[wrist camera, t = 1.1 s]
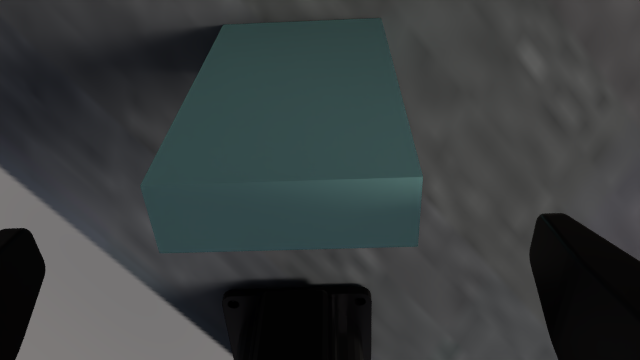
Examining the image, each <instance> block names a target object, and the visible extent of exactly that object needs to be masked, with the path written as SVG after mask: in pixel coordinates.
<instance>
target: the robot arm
mask: <svg viewBox="0 0 640 360" xmlns="http://www.w3.org/2000/svg"><path fill="white" fill-rule="evenodd" d="M529 256H530V264H531V268H532V272H533V275H534V279H535V283H536V287H537V291H538V294H539V298H540V302H541V306H542V309H543V313H544V317H545V321H546V324H547V328H548V332H549V335H550V338H551V341H552V344H553V347H554V350H555V352H556V355H557V357H558V360H640V261H639V260H637V259H635V258H634V257H632V256H631V255H629V254H628V253H626V252H624V251H623V250H621V249H620V248H618V247H617V246H615V245H613V244H612V243H610V242H609V241H607V240H606V239H604V238H602V237H601V236H599V235H598V234H596V233H595V232H593V231H591V230H590V229H588V228H587V227H585V226H584V225H582V224H580V223H579V222H577V221H576V220H574V219H573V218H571V217H569V216H568V215H566V214H563V213H549V214H541V215H540V216H539V217H538V218H537V221H536V225H535V229H534V233H533V238H532V242H531V247H530V253H529ZM44 276H45V263H44V260H43V257H42V255H41V253H40V251H39V249H38V246H37V244H36V242H35V240H34V238H33V235H32V233H31V232H30V231H29V230H27V229H25V228H17V229H15V228H12V229H3V230H0V360H15V359H16V357H17V354H18V352H19V349H20V347H21V344H22V341H23V339H24V336H25V333H26V330H27V327H28V324H29V321H30V318H31V315H32V312H33V309H34V306H35V303H36V300H37V297H38V294H39V291H40V288H41V285H42V282H43V279H44ZM357 298H362V299H357ZM232 300H234V301H237V302H234V301H232ZM371 304H372V301H371V293H370V291H369V290H368V289H367V288H365V287H323V288H280V289H237V290H229V291H227V292H225V294H224V296H223V301H222V306H223V311H224V316H225V320H226V325H227V330H228V334H229V339H230V344H231V348H232V353H233V358H234V360H371Z"/></svg>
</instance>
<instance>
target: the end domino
mask: <svg viewBox="0 0 640 360" xmlns="http://www.w3.org/2000/svg"><path fill="white" fill-rule="evenodd" d="M422 183H423V175H422V171H421V168H420V164H419V160H418V156H417V153H416V149H415V145H414V141H413V137H412V134H411V130H410V126H409V122H408V118H407V115H406V111H405V107H404V103H403V99H402V96H401V92H400V88H399V84H398V81H397V77H396V73H395V69H394V65H393V62H392V58H391V54H390V50H389V46H388V43H387V39H386V35H385V31H384V27H383V24H382V20H381V18H369V19H346V20H322V21H299V22H275V23H251V24H228V25H223V26H222V28H221V30H220V32H219V34H218V36H217V38H216V40H215V42H214V44H213V46H212V48H211V49H210V51H209V53H208V55H207V57H206V59H205V61H204V63H203V65H202V67H201V69H200V71H199V73H198V75H197V77H196V79H195V80H194V82H193V84H192V86H191V88H190V90H189V92H188V94H187V96H186V98H185V100H184V102H183V104H182V106H181V108H180V110H179V112H178V113H177V115H176V117H175V119H174V121H173V123H172V125H171V127H170V129H169V131H168V133H167V135H166V137H165V139H164V141H163V143H162V144H161V146H160V148H159V150H158V152H157V154H156V156H155V158H154V160H153V162H152V164H151V166H150V168H149V170H148V172H147V174H146V176H145V177H144V179H143V181H142V183H141V185H140V187H141V190H142V194H143V197H144V201H145V204H146V208H147V211H148V215H149V218H150V222H151V225H152V229H153V232H154V236H155V239H156V243H157V246H158V250H159V253H189V252H227V251H265V250H303V249H341V248H379V247H417V246H418V237H419V224H420V210H421V197H422Z"/></svg>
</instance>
